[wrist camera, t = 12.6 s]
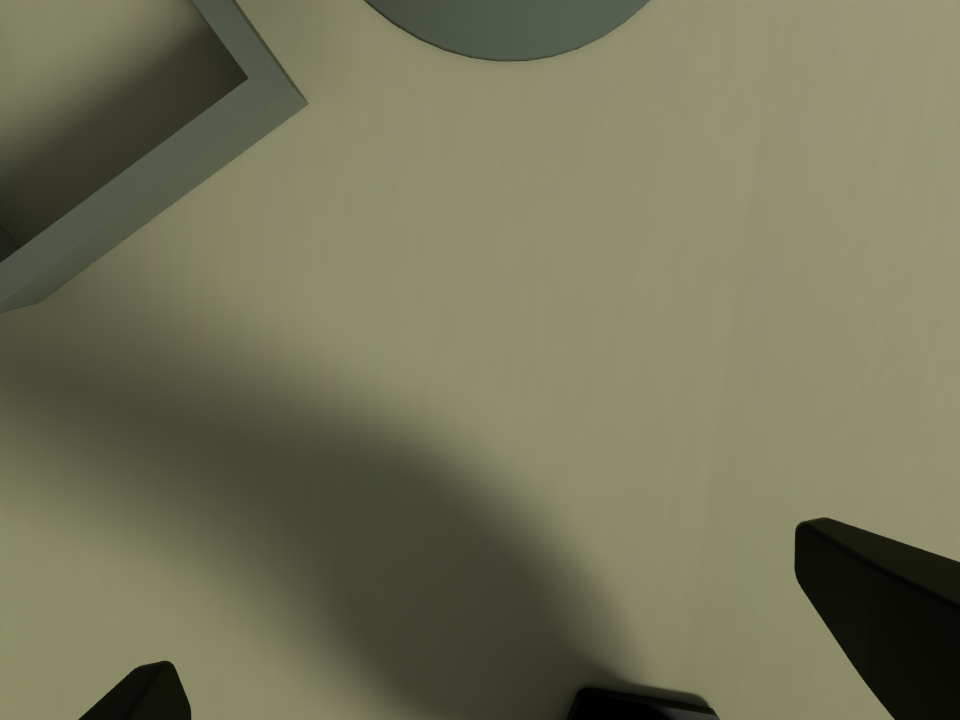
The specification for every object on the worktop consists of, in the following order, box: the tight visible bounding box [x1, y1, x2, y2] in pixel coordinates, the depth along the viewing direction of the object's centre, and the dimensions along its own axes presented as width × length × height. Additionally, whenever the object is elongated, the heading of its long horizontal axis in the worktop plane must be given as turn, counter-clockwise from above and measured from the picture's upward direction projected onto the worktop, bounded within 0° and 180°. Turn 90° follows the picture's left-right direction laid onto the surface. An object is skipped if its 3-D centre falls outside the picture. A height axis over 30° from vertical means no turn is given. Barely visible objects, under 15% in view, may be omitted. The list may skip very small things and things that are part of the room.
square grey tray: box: [0, 0, 309, 313], centre depth 16 cm, size 11×11×2 cm
